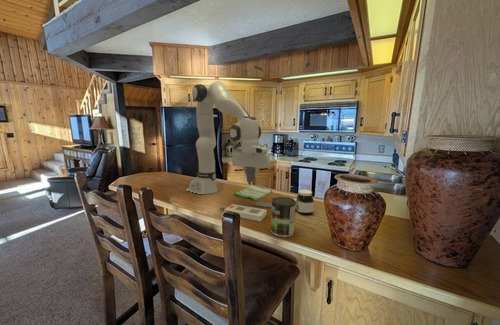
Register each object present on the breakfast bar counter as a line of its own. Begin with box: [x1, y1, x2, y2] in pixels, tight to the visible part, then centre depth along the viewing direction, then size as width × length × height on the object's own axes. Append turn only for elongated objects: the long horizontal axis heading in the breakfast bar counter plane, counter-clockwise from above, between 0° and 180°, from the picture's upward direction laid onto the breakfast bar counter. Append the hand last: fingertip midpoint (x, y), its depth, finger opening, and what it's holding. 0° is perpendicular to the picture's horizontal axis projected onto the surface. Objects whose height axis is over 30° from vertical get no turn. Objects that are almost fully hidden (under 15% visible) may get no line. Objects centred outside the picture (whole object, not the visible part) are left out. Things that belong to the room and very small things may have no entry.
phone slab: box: [252, 200, 272, 209], centre depth 125 cm, size 14×7×1 cm, turn 70°
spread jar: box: [293, 189, 315, 216], centre depth 115 cm, size 12×11×12 cm
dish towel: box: [233, 184, 273, 202], centre depth 146 cm, size 17×23×4 cm
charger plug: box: [246, 166, 256, 183], centre depth 111 cm, size 4×4×8 cm
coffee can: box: [270, 196, 296, 238], centre depth 93 cm, size 10×10×14 cm
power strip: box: [219, 203, 268, 223], centre depth 111 cm, size 25×9×4 cm, turn 67°
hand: (251, 175), depth 111 cm, fingers closed on charger plug, 3 cm apart
